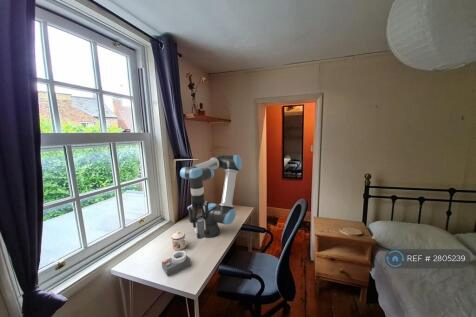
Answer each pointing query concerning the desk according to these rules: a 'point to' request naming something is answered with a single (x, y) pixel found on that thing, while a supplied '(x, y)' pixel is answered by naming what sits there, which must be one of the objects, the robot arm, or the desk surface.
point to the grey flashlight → (200, 227)
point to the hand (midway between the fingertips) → (200, 230)
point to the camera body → (175, 262)
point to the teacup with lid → (179, 240)
